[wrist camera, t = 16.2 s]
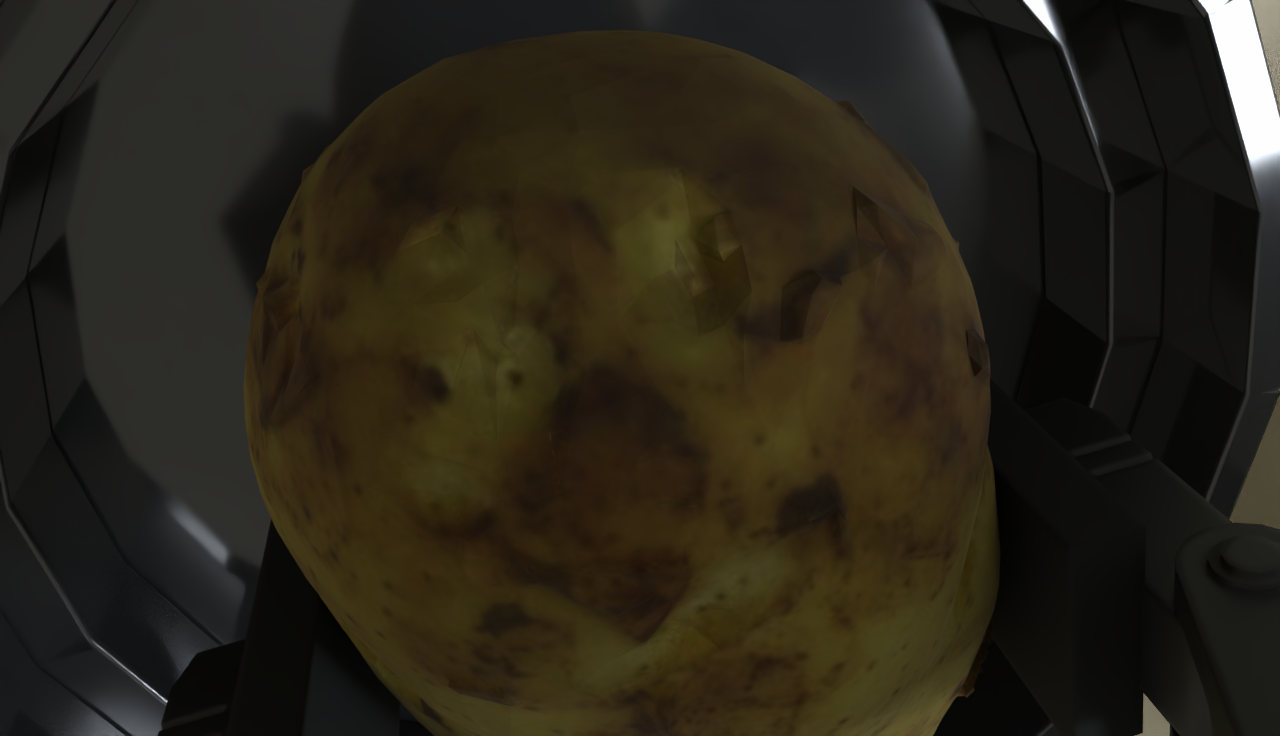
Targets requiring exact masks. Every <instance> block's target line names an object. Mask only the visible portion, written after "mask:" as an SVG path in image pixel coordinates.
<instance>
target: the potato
mask: <svg viewBox="0 0 1280 736" xmlns="http://www.w3.org/2000/svg"><path fill="white" fill-rule="evenodd" d="M958 250H959V242H958V241H956V240H955V239H953V238H952V236H951V234H950V233H949V231H948V229H947V227H946V225H945V223H944V221H943V218H942V216H941V214H940V212H939V210H938V208H937V206H936V204H935V201H934V199H933V197H932V194H931V192H930V189H929V187H928V184H927V182H926V180H925V179H924V178H923V177H922V175H921V174H920V173H919V172H918V170H917V169H916V168H915V167H914V165H913V164H912V163H911V162H910V161H909V160H908V159H907V158H906V157H905V156H904V155H902V154H901V153H900V152H899V151H898V150H897V149H895V148H894V147H893V146H892V145H891V144H890V143H888V142H887V141H886V140H885V139H884V138H883V137H881V136H880V135H879V134H878V133H877V132H876V131H875V130H874V129H873V127H872V126H871V125H870V124H869V123H868V122H867V121H866V120H865V118H864V117H863V116H862V115H861V114H860V113H859V112H858V111H857V110H856V108H855V107H854V106H853V105H852V104H851V103H850V102H849V101H848V100H847V101H837V102H834V101H833V100H831V99H830V98H828V97H826V96H825V95H823V94H822V93H820V92H819V91H817V90H816V89H814V88H812V87H811V86H809V85H808V84H806V83H805V82H803V81H802V80H800V79H798V78H797V77H795V76H793V75H791V74H789V73H787V72H785V71H783V70H780V69H778V68H776V67H774V66H772V65H770V64H768V63H765V62H763V61H761V60H759V59H757V58H755V57H753V56H750V55H748V54H746V53H744V52H741V51H737V50H734V49H731V48H727V47H724V46H720V45H717V44H714V43H710V42H707V41H703V40H700V39H695V38H690V37H684V36H679V35H673V34H668V33H662V32H650V31H633V30H604V31H576V32H569V33H561V34H554V35H546V36H539V37H531V38H524V39H516V40H511V41H507V42H503V43H500V44H496V45H492V46H489V47H485V48H481V49H478V50H474V51H470V52H466V53H463V54H459V55H455V56H452V57H448V58H444V59H442V60H441V61H439V62H437V63H435V64H434V65H432V66H430V67H428V68H427V69H425V70H423V71H421V72H420V73H418V74H416V75H414V76H413V77H411V78H409V79H407V80H406V81H404V82H402V83H401V84H399V85H397V86H395V87H394V88H392V89H390V90H389V91H387V92H385V93H384V94H382V95H381V96H380V97H378V98H377V99H376V100H375V101H374V102H373V103H372V104H370V105H369V106H368V107H367V108H366V109H365V110H364V111H363V112H362V113H361V114H360V115H359V116H358V117H357V118H356V119H355V120H354V121H353V122H352V123H351V124H350V125H349V126H348V127H347V128H346V129H345V130H344V131H343V132H342V133H341V135H340V136H339V137H338V138H337V139H336V140H335V141H334V142H333V143H332V144H330V145H329V146H327V147H326V148H325V149H324V150H323V152H322V153H321V155H320V156H319V157H318V159H317V160H316V161H315V163H314V164H312V165H311V166H309V167H308V168H307V169H305V170H304V171H303V174H302V181H301V184H300V186H299V188H298V190H297V192H296V194H295V196H294V198H293V200H292V202H291V204H290V206H289V208H288V210H287V212H286V215H285V217H284V219H283V221H282V223H281V225H280V227H279V230H278V232H277V234H276V236H275V238H274V240H273V243H272V247H271V251H270V254H269V258H268V262H267V266H266V270H265V273H264V274H263V275H262V276H261V278H260V279H259V280H258V282H257V283H256V285H257V288H258V293H257V295H256V298H255V300H254V306H253V312H252V318H251V324H250V330H249V336H248V342H247V351H246V363H245V375H244V386H243V387H244V407H245V423H246V430H247V437H248V444H249V451H250V458H251V461H252V465H253V468H254V472H255V475H256V478H257V482H258V485H259V489H260V492H261V496H262V499H263V501H264V504H265V506H266V508H267V510H268V512H269V515H270V517H271V519H272V521H273V523H274V526H275V528H276V530H277V531H278V533H279V535H280V536H281V538H282V540H283V541H284V543H285V545H286V546H287V548H288V550H289V551H290V553H291V554H292V556H293V558H294V559H295V561H296V563H297V564H298V566H299V567H300V569H301V571H302V572H303V574H304V576H305V577H306V579H307V580H308V581H309V583H310V584H311V585H312V586H313V588H314V589H315V590H316V591H317V593H318V594H319V595H320V597H321V599H322V600H323V602H324V603H325V604H326V606H327V607H328V609H329V610H330V612H331V613H332V614H333V616H334V617H335V619H336V620H337V621H338V623H339V624H340V626H341V627H342V629H343V630H344V631H345V632H346V633H347V635H348V636H349V638H350V639H351V641H352V642H353V643H354V645H355V646H356V648H357V649H358V651H359V652H360V653H361V655H362V656H363V658H364V659H365V661H366V662H367V664H368V665H369V666H370V668H371V669H372V671H373V672H374V674H375V675H376V676H377V678H378V679H379V680H380V681H381V682H382V683H383V684H384V685H385V686H386V687H387V688H388V690H389V691H390V692H391V693H392V694H393V695H394V696H395V697H396V698H397V699H398V700H399V701H400V702H401V703H402V704H403V706H404V707H405V708H406V709H407V710H408V711H409V712H410V713H411V714H412V715H413V716H414V717H415V718H416V719H417V720H418V721H419V722H420V723H421V724H422V725H423V726H424V727H425V728H427V729H428V730H429V731H430V732H431V733H432V734H433V735H434V736H933V735H934V733H935V731H936V729H937V727H938V725H939V723H940V722H941V720H942V718H943V716H944V715H945V713H946V712H947V710H948V709H949V707H950V705H951V704H952V702H953V701H954V699H955V698H956V697H957V696H965V697H968V696H969V695H970V694H971V693H972V692H974V691H975V690H974V684H975V681H976V679H977V676H978V673H982V672H983V670H982V666H981V664H982V663H983V662H984V660H985V659H986V657H987V655H988V653H989V648H988V645H987V642H990V640H991V637H992V630H993V615H992V614H993V612H994V609H995V604H996V599H997V594H998V589H999V578H1000V553H1001V552H1000V538H999V524H998V509H997V499H996V489H995V478H994V468H993V464H992V459H991V455H990V451H989V448H988V445H987V441H988V432H989V423H990V414H991V400H990V359H989V352H988V345H987V344H986V343H985V338H984V331H983V326H982V322H981V318H980V313H979V309H978V305H977V300H976V296H975V293H974V289H973V286H972V283H971V279H970V277H969V274H968V272H967V270H966V267H965V265H964V263H963V260H962V258H961V256H960V253H959V251H958ZM986 641H987V642H986Z"/></svg>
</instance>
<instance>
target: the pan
mask: <svg viewBox="0 0 1280 736" xmlns="http://www.w3.org/2000/svg"><path fill="white" fill-rule="evenodd" d="M604 30H633V31H650V32H662V33H668V34H673V35H679V36H684V37H690V38H695V39H700V40H703V41H707V42H710V43H714V44H717V45H720V46H724V47H727V48H731V49H734V50H737V51H741V52H744V53H746V54H748V55H750V56H753V57H755V58H757V59H759V60H761V61H763V62H765V63H768V64H770V65H772V66H774V67H776V68H778V69H780V70H783V71H785V72H787V73H789V74H791V75H793V76H795V77H797V78H798V79H800V80H802V81H803V82H805V83H806V84H808V85H809V86H811V87H812V88H814V89H816V90H817V91H819V92H820V93H822V94H823V95H825V96H826V97H828V98H830V99H831V100H833V101H834V102H837V101H847V100H848V101H849V102H850V103H851V104H852V105H853V106H854V107H855V108H856V110H857V111H858V112H859V113H860V114H861V115H862V116H863V117H864V118H865V120H866V121H867V122H868V123H869V124H870V125H871V126H872V127H873V129H874V130H875V131H876V132H877V133H878V134H879V135H880V136H881V137H883V138H884V139H885V140H886V141H887V142H888V143H890V144H891V145H892V146H893V147H894V148H895V149H897V150H898V151H899V152H900V153H901V154H902V155H904V156H905V157H906V158H907V159H908V160H909V161H910V162H911V163H912V164H913V165H914V167H915V168H916V169H917V170H918V172H919V173H920V174H921V175H922V177H923V178H924V179H925V180H926V182H927V184H928V187H929V189H930V192H931V194H932V197H933V199H934V201H935V204H936V206H937V208H938V210H939V212H940V214H941V216H942V218H943V221H944V223H945V225H946V227H947V229H948V231H949V233H950V234H951V236H952V238H953V239H955V240H956V241H958V242H959V250H958V251H959V253H960V256H961V258H962V260H963V263H964V265H965V267H966V270H967V272H968V274H969V277H970V279H971V283H972V286H973V289H974V293H975V296H976V300H977V305H978V309H979V313H980V318H981V322H982V326H983V331H984V338H985V343H986V344H987V345H988V352H989V359H990V378H991V379H992V380H993V381H994V382H995V383H996V384H997V385H998V386H999V387H1000V388H1001V389H1002V390H1003V391H1004V392H1005V393H1007V394H1008V395H1009V396H1010V397H1011V398H1012V399H1013V400H1014V401H1015V402H1016V403H1017V404H1018V405H1019V406H1020V407H1021V408H1022V409H1025V408H1029V407H1032V406H1036V405H1039V404H1042V403H1046V402H1049V401H1053V400H1056V399H1060V398H1063V397H1065V398H1068V399H1070V400H1073V401H1075V402H1078V403H1080V404H1083V405H1085V406H1088V407H1090V408H1093V409H1096V410H1098V411H1101V412H1103V413H1104V414H1105V415H1107V416H1108V417H1109V418H1110V419H1111V420H1113V421H1114V422H1115V423H1116V424H1117V425H1118V426H1120V427H1121V428H1122V429H1123V430H1124V431H1125V432H1127V433H1128V434H1129V435H1130V438H1131V440H1136V441H1137V442H1138V443H1140V444H1141V445H1142V446H1143V447H1144V448H1145V449H1147V450H1148V451H1149V452H1150V453H1151V454H1152V457H1153V459H1158V460H1160V461H1161V462H1162V463H1163V464H1164V465H1165V466H1167V467H1168V468H1169V469H1170V470H1171V471H1173V472H1174V473H1175V474H1176V475H1177V476H1178V477H1180V478H1181V479H1182V480H1183V481H1184V482H1185V483H1187V484H1188V485H1189V486H1190V487H1191V488H1192V489H1194V490H1195V491H1196V492H1197V493H1198V494H1200V495H1201V496H1202V497H1203V498H1204V499H1205V500H1207V501H1208V502H1209V503H1210V504H1211V505H1212V506H1214V507H1215V508H1216V509H1217V510H1218V511H1220V512H1221V513H1222V514H1223V515H1224V516H1225V517H1227V518H1228V519H1230V517H1231V514H1232V512H1233V509H1234V507H1235V504H1236V502H1237V499H1238V497H1239V494H1240V492H1241V489H1242V487H1243V484H1244V482H1245V479H1246V477H1247V474H1248V472H1249V469H1250V467H1251V464H1252V462H1253V459H1254V457H1255V455H1256V452H1257V450H1258V447H1259V445H1260V442H1261V440H1262V437H1263V435H1264V432H1265V430H1266V427H1267V425H1268V422H1269V420H1270V417H1271V415H1272V412H1273V410H1274V407H1275V405H1276V402H1277V400H1278V397H1279V395H1280V390H1279V389H1280V111H1279V107H1278V103H1277V99H1276V95H1275V91H1274V87H1273V83H1272V79H1271V75H1270V71H1269V67H1268V63H1267V59H1266V55H1265V51H1264V47H1263V43H1262V39H1261V35H1260V31H1259V27H1258V24H1257V20H1256V16H1255V12H1254V8H1253V4H1252V0H0V736H158V732H159V731H162V726H161V722H162V718H163V715H164V711H165V708H166V704H167V701H168V697H169V694H170V690H171V688H172V687H173V685H174V684H175V683H176V681H177V680H178V679H179V677H180V676H181V674H182V673H183V672H184V670H185V669H186V668H187V666H188V665H189V663H190V662H191V661H192V659H193V658H194V657H195V655H196V654H197V653H199V652H202V651H206V650H209V649H213V648H216V647H219V646H223V645H226V644H230V643H233V642H237V641H240V640H243V639H246V636H247V631H248V626H249V621H250V617H251V612H252V607H253V602H254V598H255V593H256V588H257V584H258V579H259V574H260V569H261V565H262V560H263V555H264V550H265V546H266V541H267V536H268V531H269V527H270V522H271V517H270V515H269V512H268V510H267V508H266V506H265V504H264V501H263V499H262V496H261V492H260V489H259V485H258V482H257V478H256V475H255V472H254V468H253V465H252V461H251V458H250V451H249V444H248V437H247V430H246V423H245V407H244V387H243V386H244V375H245V363H246V351H247V342H248V336H249V330H250V324H251V318H252V312H253V306H254V300H255V298H256V295H257V293H258V288H257V285H256V283H257V282H258V280H259V279H260V278H261V276H262V275H263V274H264V273H265V270H266V266H267V262H268V258H269V254H270V251H271V247H272V243H273V240H274V238H275V236H276V234H277V232H278V230H279V227H280V225H281V223H282V221H283V219H284V217H285V215H286V212H287V210H288V208H289V206H290V204H291V202H292V200H293V198H294V196H295V194H296V192H297V190H298V188H299V186H300V184H301V181H302V174H303V171H304V170H305V169H307V168H308V167H309V166H311V165H312V164H314V163H315V161H316V160H317V159H318V157H319V156H320V155H321V153H322V152H323V150H324V149H325V148H326V147H327V146H329V145H330V144H332V143H333V142H334V141H335V140H336V139H337V138H338V137H339V136H340V135H341V133H342V132H343V131H344V130H345V129H346V128H347V127H348V126H349V125H350V124H351V123H352V122H353V121H354V120H355V119H356V118H357V117H358V116H359V115H360V114H361V113H362V112H363V111H364V110H365V109H366V108H367V107H368V106H369V105H370V104H372V103H373V102H374V101H375V100H376V99H377V98H378V97H380V96H381V95H382V94H384V93H385V92H387V91H389V90H390V89H392V88H394V87H395V86H397V85H399V84H401V83H402V82H404V81H406V80H407V79H409V78H411V77H413V76H414V75H416V74H418V73H420V72H421V71H423V70H425V69H427V68H428V67H430V66H432V65H434V64H435V63H437V62H439V61H441V60H442V59H444V58H448V57H452V56H455V55H459V54H463V53H466V52H470V51H474V50H478V49H481V48H485V47H489V46H492V45H496V44H500V43H503V42H507V41H511V40H516V39H524V38H531V37H539V36H546V35H554V34H561V33H569V32H576V31H604ZM986 642H987V641H986ZM987 645H988V648H989V653H988V655H987V657H986V659H985V660H984V662H983V663H982V664H981V666H982V670H983V672H982V673H978V676H977V679H976V681H975V684H974V690H975V691H974V692H972V693H971V694H970V695H969V696H968V697H965V696H957V697H956V698H955V699H954V701H953V702H952V704H951V705H950V707H949V709H948V710H947V712H946V713H945V715H944V716H943V718H942V720H941V722H940V723H939V725H938V727H937V729H936V731H935V733H934V735H933V736H1061V734H1060V733H1059V732H1058V730H1057V729H1056V727H1055V726H1054V725H1053V723H1052V722H1051V720H1050V719H1049V718H1048V716H1047V715H1046V713H1045V712H1044V711H1043V709H1042V708H1041V706H1040V705H1039V704H1038V702H1037V701H1036V699H1035V698H1034V696H1033V695H1032V694H1031V692H1030V691H1029V689H1028V688H1027V687H1026V685H1025V684H1024V682H1023V681H1022V680H1021V678H1020V677H1019V675H1018V674H1017V673H1016V671H1015V670H1014V668H1013V667H1012V665H1011V664H1010V663H1009V661H1008V660H1007V658H1006V657H1005V656H1004V654H1003V653H1002V651H1001V650H1000V649H999V647H998V646H997V644H996V643H995V642H994V640H993V639H992V637H991V640H990V642H987ZM399 736H434V735H433V734H432V733H431V732H430V731H429V730H428V729H427V728H425V727H424V726H423V725H422V724H421V723H420V722H419V721H418V720H417V719H416V718H415V717H414V716H413V715H412V714H411V713H410V712H409V711H408V710H407V709H406V708H405V707H404V706H403V704H402V703H401V702H400V724H399Z"/></svg>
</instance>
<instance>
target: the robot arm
mask: <svg viewBox="0 0 1280 736" xmlns="http://www.w3.org/2000/svg"><path fill="white" fill-rule="evenodd" d="M990 400H991V414H990V423H989V432H988V441H987V445H988V448H989V451H990V455H991V459H992V464H993V468H994V478H995V489H996V499H997V509H998V524H999V538H1000V552H1001V553H1000V578H999V589H998V594H997V599H996V604H995V609H994V612H993V614H992V615H993V630H992V639H993V640H994V642H995V643H996V644H997V646H998V647H999V649H1000V650H1001V651H1002V653H1003V654H1004V656H1005V657H1006V658H1007V660H1008V661H1009V663H1010V664H1011V665H1012V667H1013V668H1014V670H1015V671H1016V673H1017V674H1018V675H1019V677H1020V678H1021V680H1022V681H1023V682H1024V684H1025V685H1026V687H1027V688H1028V689H1029V691H1030V692H1031V694H1032V695H1033V696H1034V698H1035V699H1036V701H1037V702H1038V704H1039V705H1040V706H1041V708H1042V709H1043V711H1044V712H1045V713H1046V715H1047V716H1048V718H1049V719H1050V720H1051V722H1052V723H1053V725H1054V726H1055V727H1056V729H1057V730H1058V732H1059V733H1060V734H1061V736H1134V735H1137V734H1141V733H1143V693H1144V694H1145V695H1146V696H1147V697H1148V698H1149V700H1150V701H1151V702H1152V703H1153V704H1154V706H1155V707H1156V708H1157V709H1158V710H1159V712H1160V713H1161V714H1162V715H1163V716H1164V718H1165V719H1166V720H1167V721H1168V722H1169V723H1170V736H1280V530H1279V529H1275V528H1272V527H1268V526H1265V525H1259V524H1242V523H1232V522H1231V521H1230V520H1229V519H1228V518H1227V517H1225V516H1224V515H1223V514H1222V513H1221V512H1220V511H1218V510H1217V509H1216V508H1215V507H1214V506H1212V505H1211V504H1210V503H1209V502H1208V501H1207V500H1205V499H1204V498H1203V497H1202V496H1201V495H1200V494H1198V493H1197V492H1196V491H1195V490H1194V489H1192V488H1191V487H1190V486H1189V485H1188V484H1187V483H1185V482H1184V481H1183V480H1182V479H1181V478H1180V477H1178V476H1177V475H1176V474H1175V473H1174V472H1173V471H1171V470H1170V469H1169V468H1168V467H1167V466H1165V465H1164V464H1163V463H1162V462H1161V461H1160V460H1158V459H1153V457H1152V454H1151V453H1150V452H1149V451H1148V450H1147V449H1145V448H1144V447H1143V446H1142V445H1141V444H1140V443H1138V442H1137V441H1136V440H1131V438H1130V435H1129V434H1128V433H1127V432H1125V431H1124V430H1123V429H1122V428H1121V427H1120V426H1118V425H1117V424H1116V423H1115V422H1114V421H1113V420H1111V419H1110V418H1109V417H1108V416H1107V415H1105V414H1104V413H1103V412H1101V411H1098V410H1096V409H1093V408H1090V407H1088V406H1085V405H1083V404H1080V403H1078V402H1075V401H1073V400H1070V399H1068V398H1065V397H1063V398H1060V399H1056V400H1053V401H1049V402H1046V403H1042V404H1039V405H1036V406H1032V407H1029V408H1025V409H1022V408H1021V407H1020V406H1019V405H1018V404H1017V403H1016V402H1015V401H1014V400H1013V399H1012V398H1011V397H1010V396H1009V395H1008V394H1007V393H1005V392H1004V391H1003V390H1002V389H1001V388H1000V387H999V386H998V385H997V384H996V383H995V382H994V381H993V380H992V379H991V378H990ZM399 724H400V701H399V700H398V699H397V698H396V697H395V696H394V695H393V694H392V693H391V692H390V691H389V690H388V688H387V687H386V686H385V685H384V684H383V683H382V682H381V681H380V680H379V679H378V678H377V676H376V675H375V674H374V672H373V671H372V669H371V668H370V666H369V665H368V664H367V662H366V661H365V659H364V658H363V656H362V655H361V653H360V652H359V651H358V649H357V648H356V646H355V645H354V643H353V642H352V641H351V639H350V638H349V636H348V635H347V633H346V632H345V631H344V630H343V629H342V627H341V626H340V624H339V623H338V621H337V620H336V619H335V617H334V616H333V614H332V613H331V612H330V610H329V609H328V607H327V606H326V604H325V603H324V602H323V600H322V599H321V597H320V595H319V594H318V593H317V591H316V590H315V589H314V588H313V586H312V585H311V584H310V583H309V581H308V580H307V579H306V577H305V576H304V574H303V572H302V571H301V569H300V567H299V566H298V564H297V563H296V561H295V559H294V558H293V556H292V554H291V553H290V551H289V550H288V548H287V546H286V545H285V543H284V541H283V540H282V538H281V536H280V535H279V533H278V531H277V530H276V528H275V526H274V523H273V521H272V519H271V522H270V527H269V531H268V536H267V541H266V546H265V550H264V555H263V560H262V565H261V569H260V574H259V579H258V584H257V588H256V593H255V598H254V602H253V607H252V612H251V617H250V621H249V626H248V631H247V636H246V639H243V640H240V641H237V642H233V643H230V644H226V645H223V646H219V647H216V648H213V649H209V650H206V651H202V652H199V653H197V654H196V655H195V657H194V658H193V659H192V661H191V662H190V663H189V665H188V666H187V668H186V669H185V670H184V672H183V673H182V674H181V676H180V677H179V679H178V680H177V681H176V683H175V684H174V685H173V687H172V688H171V690H170V694H169V697H168V701H167V704H166V708H165V711H164V715H163V718H162V722H161V726H162V731H159V732H158V736H399Z"/></svg>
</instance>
